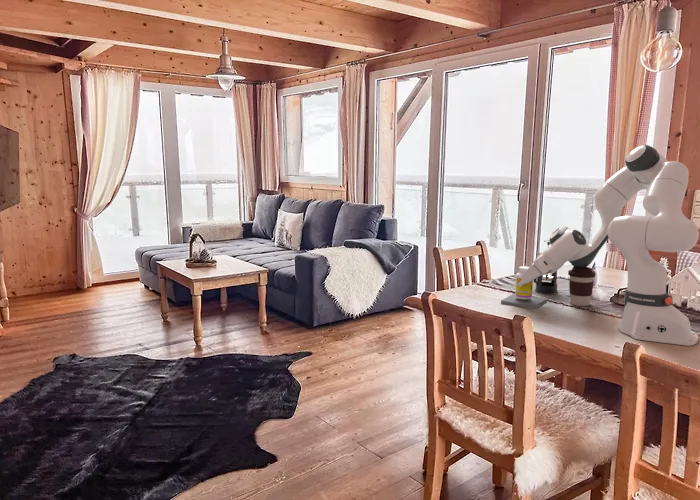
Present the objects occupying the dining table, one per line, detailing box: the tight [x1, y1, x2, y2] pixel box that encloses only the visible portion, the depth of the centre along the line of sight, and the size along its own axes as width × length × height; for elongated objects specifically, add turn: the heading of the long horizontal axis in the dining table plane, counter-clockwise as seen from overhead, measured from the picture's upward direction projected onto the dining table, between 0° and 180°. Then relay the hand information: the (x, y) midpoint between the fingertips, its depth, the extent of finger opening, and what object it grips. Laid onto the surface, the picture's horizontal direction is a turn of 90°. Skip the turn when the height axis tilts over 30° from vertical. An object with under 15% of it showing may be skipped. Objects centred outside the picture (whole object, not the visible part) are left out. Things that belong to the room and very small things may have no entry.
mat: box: [500, 293, 547, 310], centre depth 206 cm, size 14×13×1 cm
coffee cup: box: [567, 266, 596, 307], centre depth 201 cm, size 10×10×15 cm
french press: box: [533, 239, 559, 295], centre depth 221 cm, size 12×9×23 cm
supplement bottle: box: [514, 265, 534, 300], centre depth 205 cm, size 7×7×13 cm
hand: (522, 283), depth 205 cm, fingers closed on supplement bottle, 7 cm apart
